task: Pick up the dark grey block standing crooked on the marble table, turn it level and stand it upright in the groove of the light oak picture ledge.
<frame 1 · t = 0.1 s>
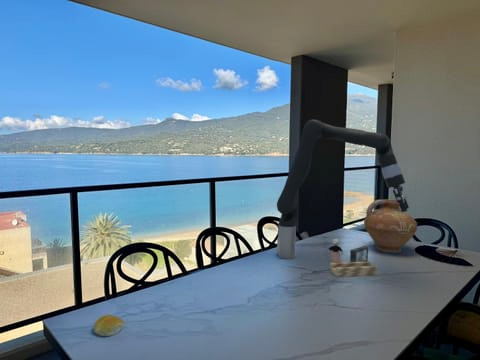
hand: (405, 210, 142), 31 cm above the table, tool tilted 20°, fingers open, 8 cm apart
bread roll: (109, 330, 101), on the table
dark grey block: (358, 263, 164), on the table
grandmother figurine: (334, 263, 165), on the table
jug: (388, 250, 188), on the table
picture ledge: (353, 272, 151), on the table
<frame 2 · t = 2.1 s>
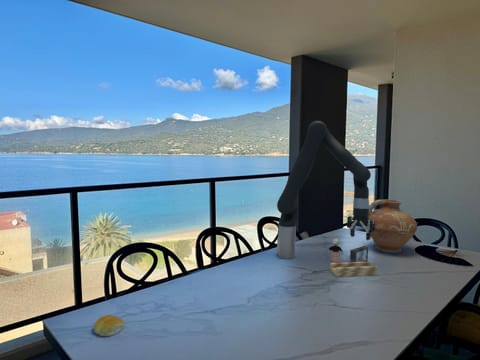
hand: (360, 238, 163), 13 cm above the table, tool pointing down, fingers open, 8 cm apart
nothing on the table moved.
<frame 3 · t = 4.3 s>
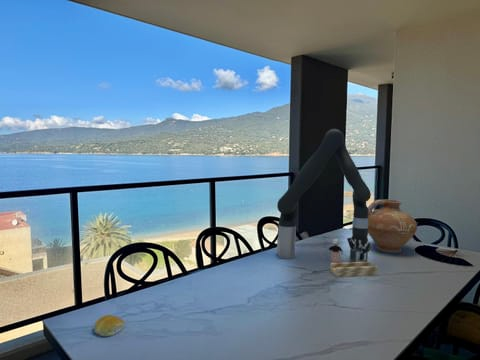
hand: (358, 259, 164), 2 cm above the table, tool pointing down, fingers closed on dark grey block, 2 cm apart
dark grey block: (358, 263, 164), on the table, touching gripper
everything else where it was.
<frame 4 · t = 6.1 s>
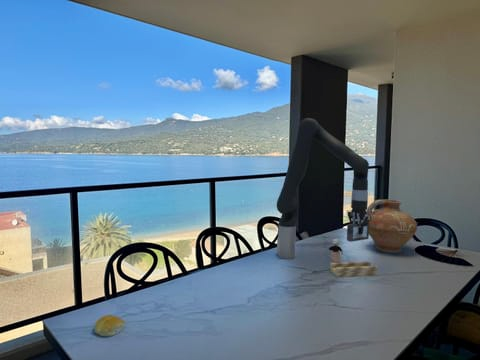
hand: (357, 233, 158), 17 cm above the table, tool pointing down, fingers closed on dark grey block, 2 cm apart
dark grey block: (357, 239, 158), point 14 cm above the table, touching gripper
everything else where it was.
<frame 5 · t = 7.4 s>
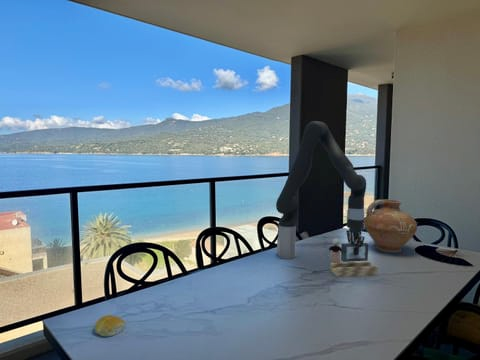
hand: (354, 253, 150), 9 cm above the table, tool pointing down, fingers closed on dark grey block, 2 cm apart
dark grey block: (354, 260, 150), point 6 cm above the table, touching gripper
everything else where it was.
when the fingers open (5 cm above the table, at t = 8.3 s): dark grey block stays where it is, resting on picture ledge.
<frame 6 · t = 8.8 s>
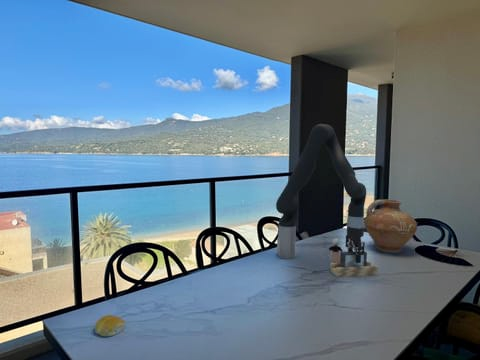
hand: (354, 259, 151), 6 cm above the table, tool pointing down, fingers open, 7 cm apart
dark grey block: (352, 268, 151), point 2 cm above the table, touching picture ledge
everything else where it was.
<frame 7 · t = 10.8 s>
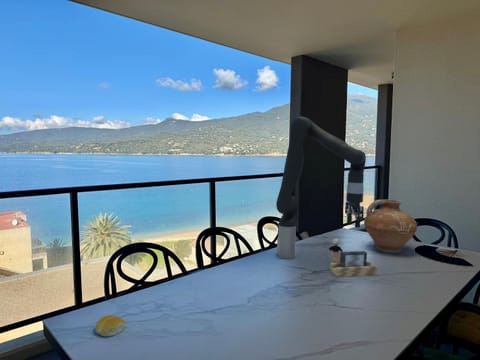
hand: (353, 225, 154), 22 cm above the table, tool pointing down, fingers open, 8 cm apart
nothing on the table moved.
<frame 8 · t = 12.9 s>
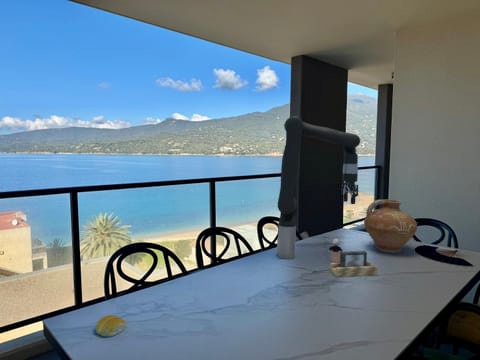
hand: (349, 202, 170), 30 cm above the table, tool pointing down, fingers open, 8 cm apart
nothing on the table moved.
at the end: dark grey block 0.4 cm off-centre on the picture ledge, point 2.0 cm above the picture ledge's base; dark grey block tilted 0°; the gripper is holding nothing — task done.
